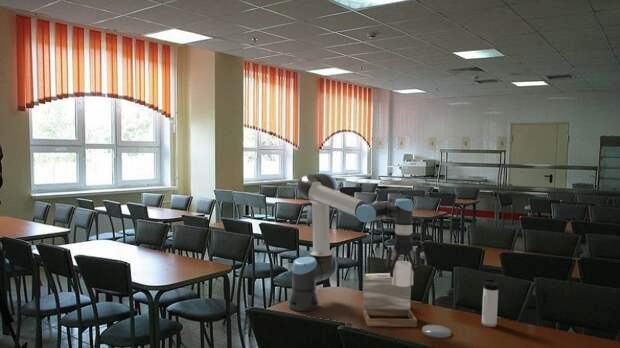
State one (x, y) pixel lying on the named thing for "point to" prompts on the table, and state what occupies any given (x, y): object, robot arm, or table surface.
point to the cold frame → (387, 303)
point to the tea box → (378, 276)
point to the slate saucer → (436, 331)
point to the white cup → (402, 273)
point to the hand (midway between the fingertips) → (402, 284)
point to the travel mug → (490, 303)
